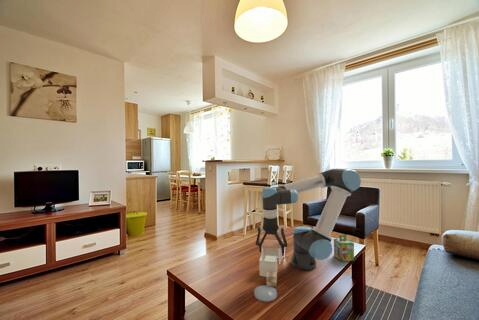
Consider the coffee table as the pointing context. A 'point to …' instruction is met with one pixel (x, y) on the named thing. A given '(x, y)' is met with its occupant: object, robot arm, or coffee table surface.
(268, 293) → the dish
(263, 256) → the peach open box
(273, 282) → the block
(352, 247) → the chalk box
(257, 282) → the coffee table surface
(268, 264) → the pale green cube
